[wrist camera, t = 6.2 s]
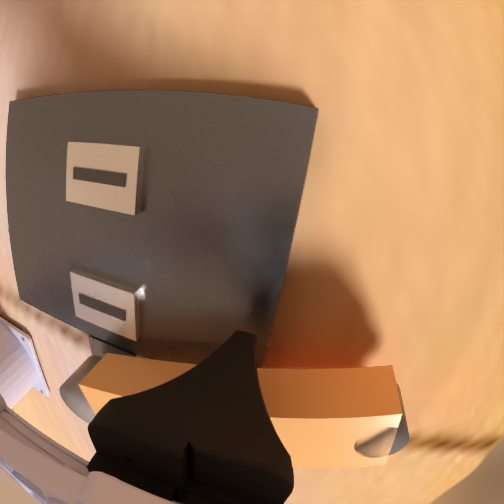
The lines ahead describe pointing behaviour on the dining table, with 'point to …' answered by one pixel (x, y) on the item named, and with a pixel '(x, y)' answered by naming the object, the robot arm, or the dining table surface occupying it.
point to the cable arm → (277, 405)
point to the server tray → (156, 214)
